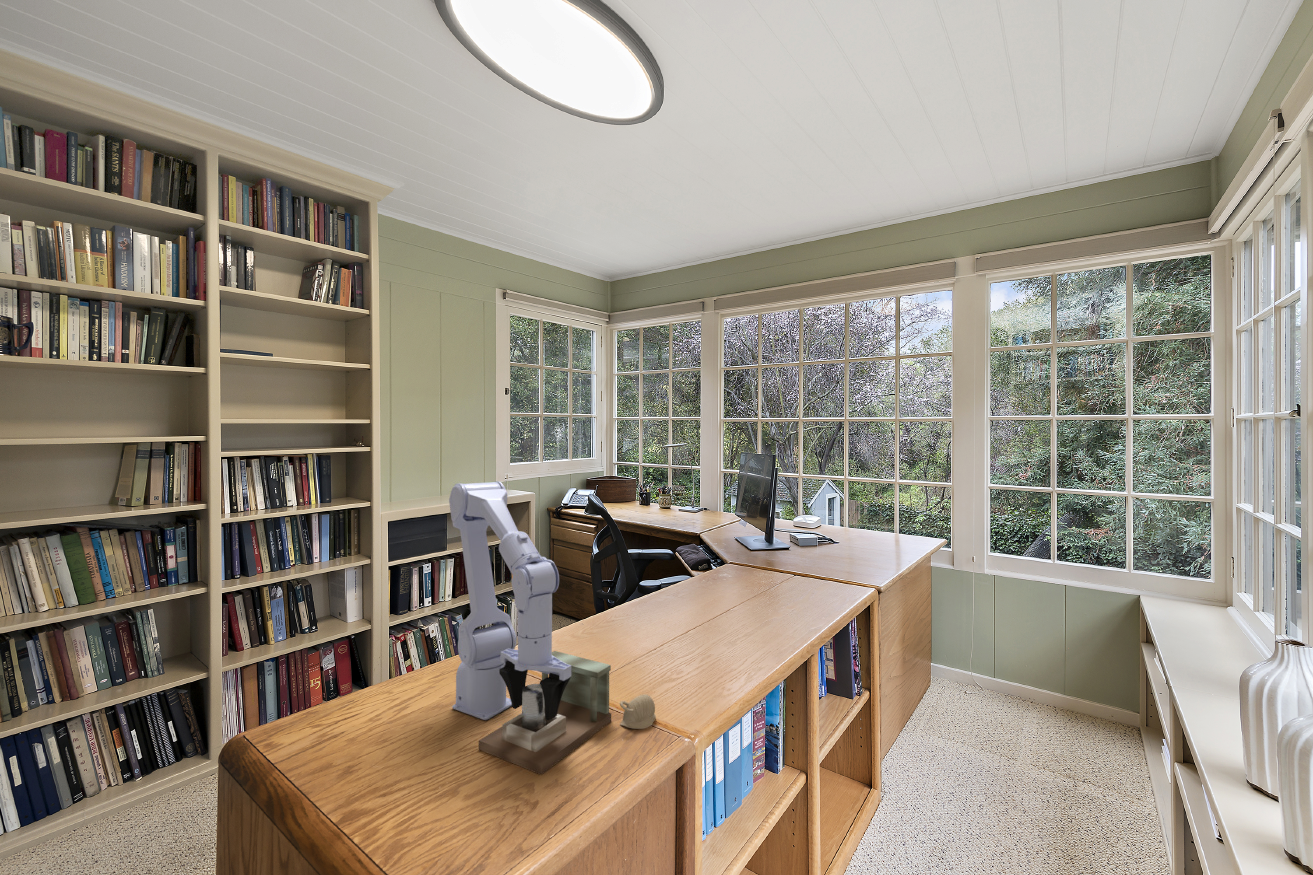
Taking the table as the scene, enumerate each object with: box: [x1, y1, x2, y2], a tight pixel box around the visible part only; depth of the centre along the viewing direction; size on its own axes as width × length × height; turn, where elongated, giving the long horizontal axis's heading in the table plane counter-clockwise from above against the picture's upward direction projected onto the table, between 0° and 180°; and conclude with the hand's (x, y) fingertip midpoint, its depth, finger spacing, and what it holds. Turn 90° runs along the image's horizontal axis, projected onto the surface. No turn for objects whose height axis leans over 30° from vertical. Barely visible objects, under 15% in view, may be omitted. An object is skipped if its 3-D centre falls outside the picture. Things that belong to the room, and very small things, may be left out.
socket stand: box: [478, 650, 612, 776], centre depth 97 cm, size 14×19×10 cm
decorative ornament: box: [619, 693, 657, 730], centre depth 100 cm, size 4×8×5 cm, turn 127°
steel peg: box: [521, 683, 546, 732], centre depth 93 cm, size 4×4×8 cm
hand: (534, 711), depth 94 cm, fingers open, 7 cm apart
